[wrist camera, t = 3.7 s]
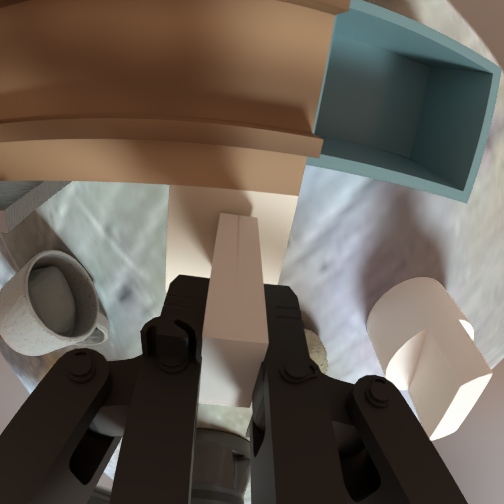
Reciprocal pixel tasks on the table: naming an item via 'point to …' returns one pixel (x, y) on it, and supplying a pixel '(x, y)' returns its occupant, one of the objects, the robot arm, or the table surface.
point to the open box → (404, 103)
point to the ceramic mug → (51, 306)
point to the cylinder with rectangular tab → (428, 352)
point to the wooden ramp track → (170, 107)
